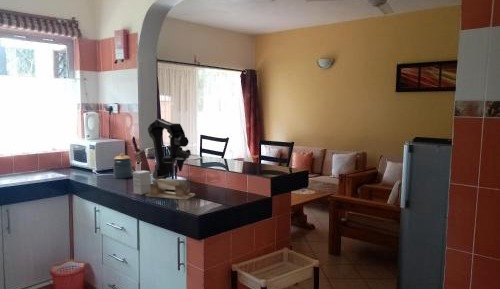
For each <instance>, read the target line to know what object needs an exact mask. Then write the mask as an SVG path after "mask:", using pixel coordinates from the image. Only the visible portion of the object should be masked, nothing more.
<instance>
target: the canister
mask: <svg viewBox="0 0 500 289" xmlns="http://www.w3.org/2000/svg"><path fill="white" fill-rule="evenodd" d="M112 163H113V178H114V179H119V180H120V179H129V178H133V165H132V159H131V157H130V156H129V155H125V154H124V153H123V152H122V153H120V154H119V155H116V156H115V157H114V158H113V161H112Z"/></svg>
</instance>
